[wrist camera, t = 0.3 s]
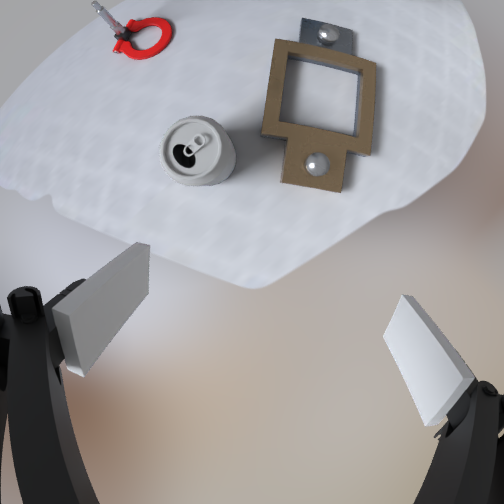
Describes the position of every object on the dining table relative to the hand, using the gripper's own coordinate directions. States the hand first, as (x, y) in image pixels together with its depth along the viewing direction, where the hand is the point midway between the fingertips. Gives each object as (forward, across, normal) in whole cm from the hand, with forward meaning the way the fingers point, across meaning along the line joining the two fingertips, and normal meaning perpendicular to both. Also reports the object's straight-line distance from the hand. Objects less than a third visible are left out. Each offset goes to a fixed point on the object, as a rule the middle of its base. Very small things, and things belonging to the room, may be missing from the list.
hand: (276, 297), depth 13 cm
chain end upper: (+28, +4, +14) cm, 31 cm away
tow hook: (+28, -25, +24) cm, 44 cm away
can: (+26, -10, +4) cm, 29 cm away
